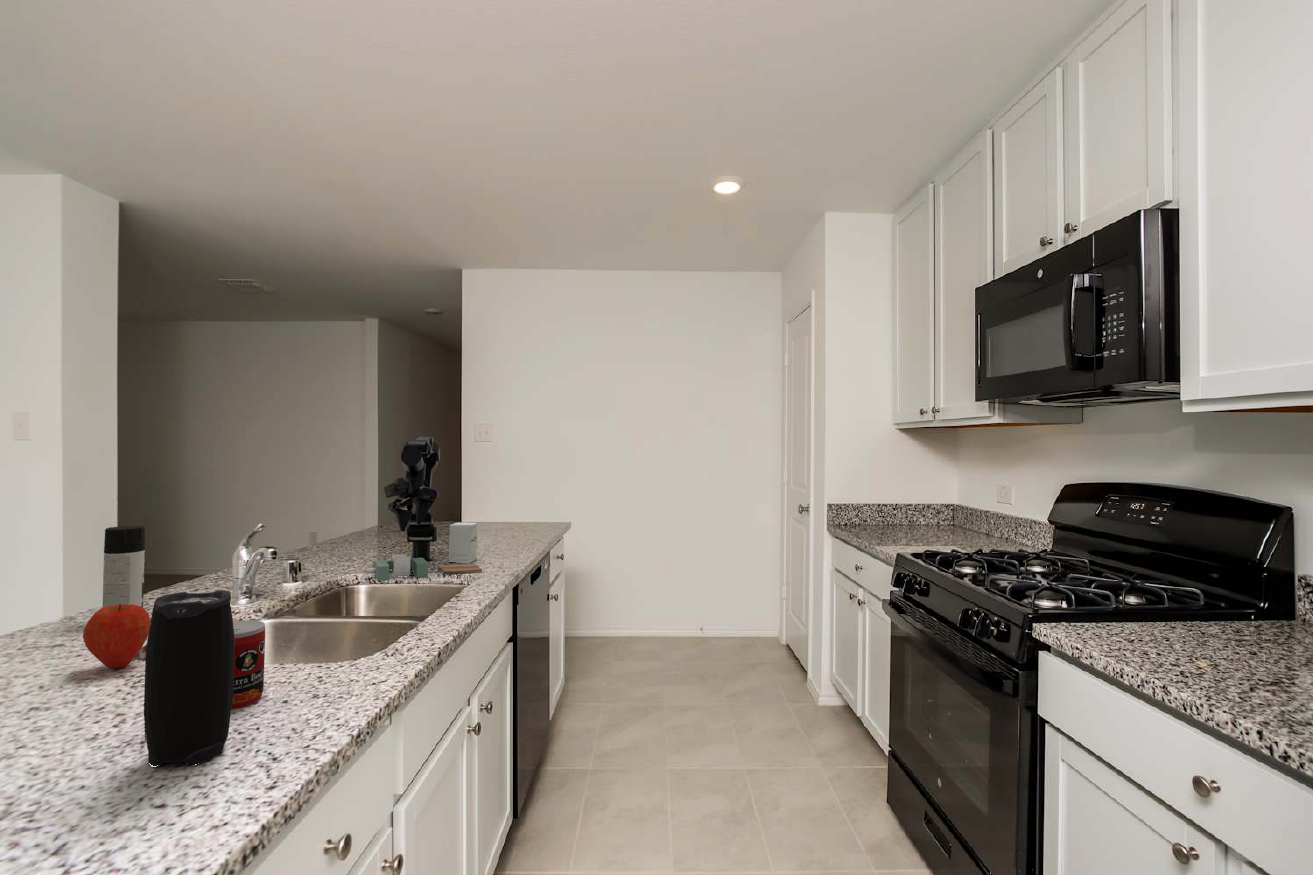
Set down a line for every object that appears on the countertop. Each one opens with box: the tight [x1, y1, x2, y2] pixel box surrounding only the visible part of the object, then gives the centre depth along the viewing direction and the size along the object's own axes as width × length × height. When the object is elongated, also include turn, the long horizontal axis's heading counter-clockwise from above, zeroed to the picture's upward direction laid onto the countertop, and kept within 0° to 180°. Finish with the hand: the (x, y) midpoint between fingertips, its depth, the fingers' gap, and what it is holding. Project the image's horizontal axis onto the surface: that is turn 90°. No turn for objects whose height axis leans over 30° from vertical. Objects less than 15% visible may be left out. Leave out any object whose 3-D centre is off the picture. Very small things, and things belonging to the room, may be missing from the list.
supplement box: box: [448, 522, 478, 564], centre depth 208 cm, size 7×7×13 cm
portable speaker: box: [143, 589, 235, 766], centre depth 78 cm, size 9×9×20 cm
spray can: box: [102, 525, 146, 608], centre depth 133 cm, size 7×7×20 cm
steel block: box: [391, 553, 412, 579], centre depth 184 cm, size 4×4×6 cm
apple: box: [82, 604, 151, 669], centre depth 106 cm, size 9×8×11 cm
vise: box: [365, 558, 429, 582], centre depth 186 cm, size 15×16×4 cm
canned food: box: [231, 619, 266, 711], centre depth 94 cm, size 8×8×11 cm
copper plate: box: [437, 562, 483, 576], centre depth 193 cm, size 11×11×1 cm
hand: (410, 527), depth 185 cm, fingers open, 9 cm apart
